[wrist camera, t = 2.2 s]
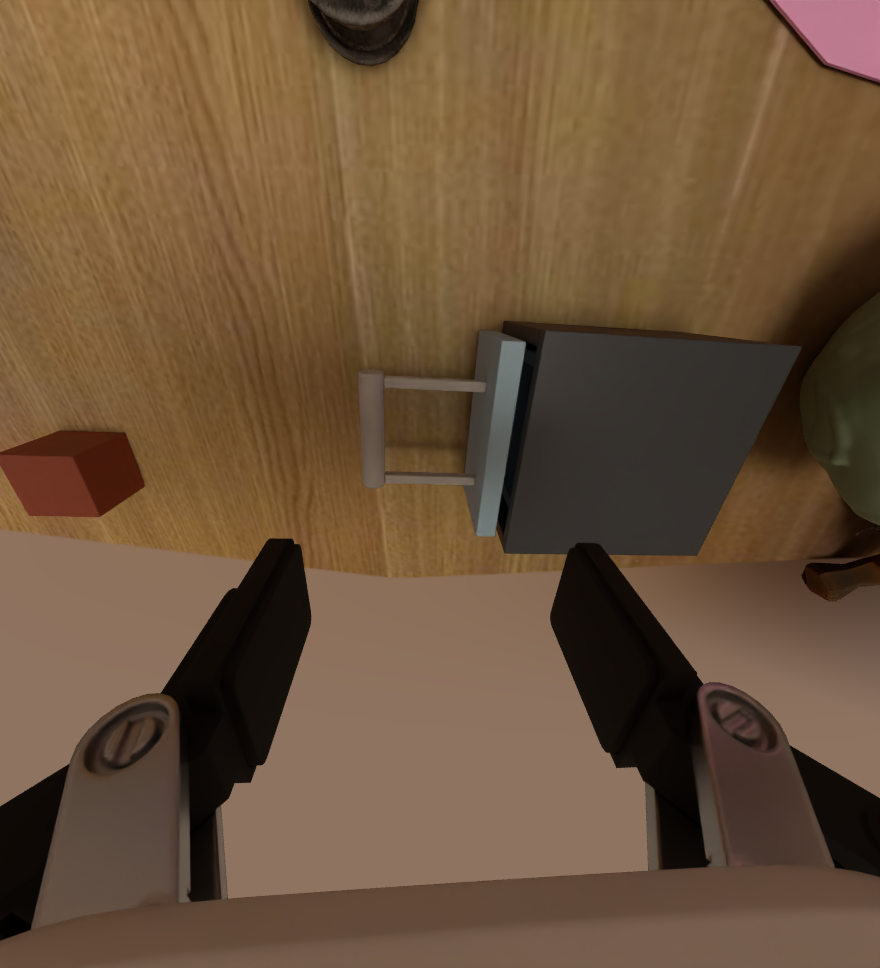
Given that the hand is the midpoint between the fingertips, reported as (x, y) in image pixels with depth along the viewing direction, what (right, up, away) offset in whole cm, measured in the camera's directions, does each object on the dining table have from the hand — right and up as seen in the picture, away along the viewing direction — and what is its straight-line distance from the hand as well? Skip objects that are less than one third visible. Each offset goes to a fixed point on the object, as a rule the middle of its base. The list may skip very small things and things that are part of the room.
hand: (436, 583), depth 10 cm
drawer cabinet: (+10, +8, +17) cm, 21 cm away
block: (-25, +5, +16) cm, 30 cm away
